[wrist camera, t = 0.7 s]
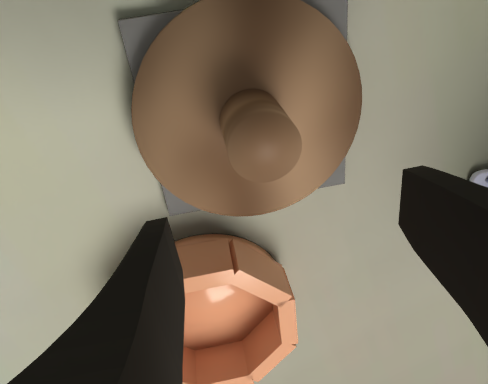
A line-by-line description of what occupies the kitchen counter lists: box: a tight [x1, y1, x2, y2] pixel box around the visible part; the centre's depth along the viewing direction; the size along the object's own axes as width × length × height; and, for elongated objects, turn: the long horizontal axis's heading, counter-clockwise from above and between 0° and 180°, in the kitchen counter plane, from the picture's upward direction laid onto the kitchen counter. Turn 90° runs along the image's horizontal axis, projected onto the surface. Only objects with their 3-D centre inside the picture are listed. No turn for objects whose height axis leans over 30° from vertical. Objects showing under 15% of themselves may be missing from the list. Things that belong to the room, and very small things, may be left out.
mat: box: [118, 0, 348, 216], centre depth 20 cm, size 10×10×1 cm
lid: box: [131, 0, 362, 216], centre depth 17 cm, size 11×11×4 cm
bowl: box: [175, 234, 298, 384], centre depth 24 cm, size 10×10×4 cm
